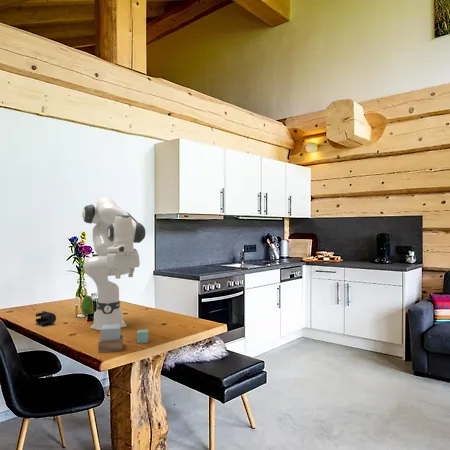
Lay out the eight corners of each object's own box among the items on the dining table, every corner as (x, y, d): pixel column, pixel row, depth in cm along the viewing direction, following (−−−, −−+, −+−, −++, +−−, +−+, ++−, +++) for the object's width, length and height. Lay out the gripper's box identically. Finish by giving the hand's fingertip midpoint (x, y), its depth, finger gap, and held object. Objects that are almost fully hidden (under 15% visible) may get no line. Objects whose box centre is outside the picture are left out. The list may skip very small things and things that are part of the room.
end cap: (56, 324, 221) (56, 312, 221) (43, 327, 215) (43, 314, 215) (47, 321, 227) (47, 310, 227) (35, 324, 221) (35, 312, 222)
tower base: (100, 346, 181) (100, 335, 181) (123, 344, 183) (123, 334, 183) (98, 353, 171) (98, 341, 171) (122, 351, 174) (122, 340, 174)
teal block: (137, 340, 190) (137, 329, 190) (147, 339, 191) (147, 329, 191) (137, 343, 185) (137, 332, 185) (148, 342, 186) (148, 332, 186)
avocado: (78, 316, 242) (78, 296, 242) (85, 313, 249) (85, 294, 249) (90, 316, 240) (90, 296, 240) (96, 313, 248) (96, 294, 248)
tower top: (102, 335, 181) (102, 324, 181) (120, 334, 182) (120, 324, 182) (100, 340, 173) (100, 329, 173) (119, 339, 174) (119, 328, 175)
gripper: (132, 248, 198) (132, 276, 197) (104, 248, 179) (104, 279, 178) (142, 248, 195) (143, 276, 194) (115, 248, 176) (115, 279, 175)
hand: (124, 277), depth 186 cm, fingers open, 8 cm apart
